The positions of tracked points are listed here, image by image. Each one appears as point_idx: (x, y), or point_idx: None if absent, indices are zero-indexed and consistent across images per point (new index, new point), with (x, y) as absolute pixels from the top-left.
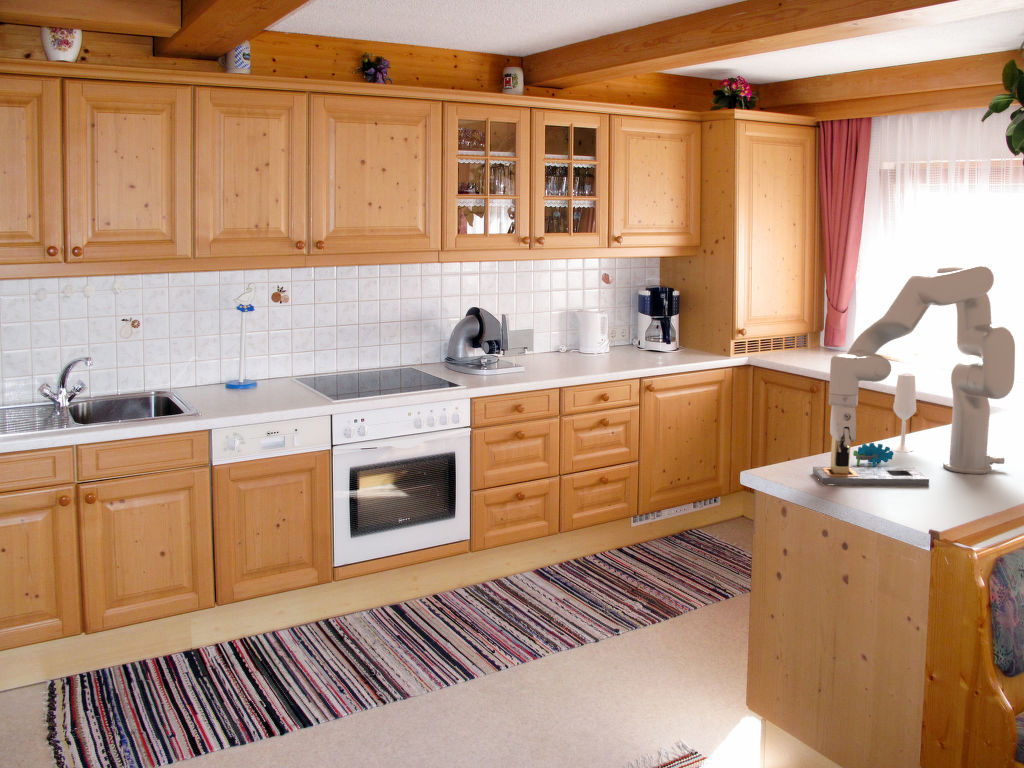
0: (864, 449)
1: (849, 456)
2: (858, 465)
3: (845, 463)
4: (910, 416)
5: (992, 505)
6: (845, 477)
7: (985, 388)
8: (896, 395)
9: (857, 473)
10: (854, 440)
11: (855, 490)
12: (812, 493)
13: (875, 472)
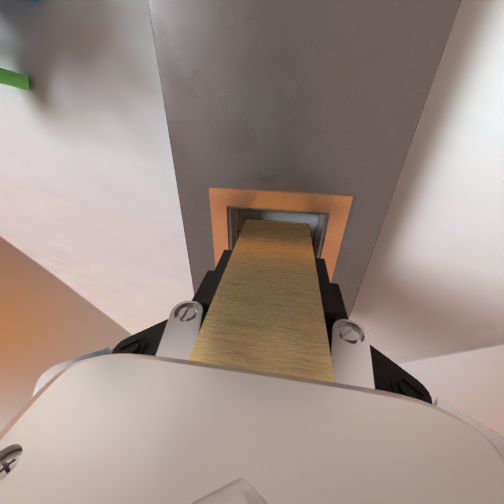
0: None
1: (317, 282)
2: (28, 80)
3: (337, 284)
4: None
5: None
6: (356, 255)
7: None
8: None
9: (295, 182)
10: (495, 450)
11: (444, 229)
12: (422, 351)
13: (278, 58)
